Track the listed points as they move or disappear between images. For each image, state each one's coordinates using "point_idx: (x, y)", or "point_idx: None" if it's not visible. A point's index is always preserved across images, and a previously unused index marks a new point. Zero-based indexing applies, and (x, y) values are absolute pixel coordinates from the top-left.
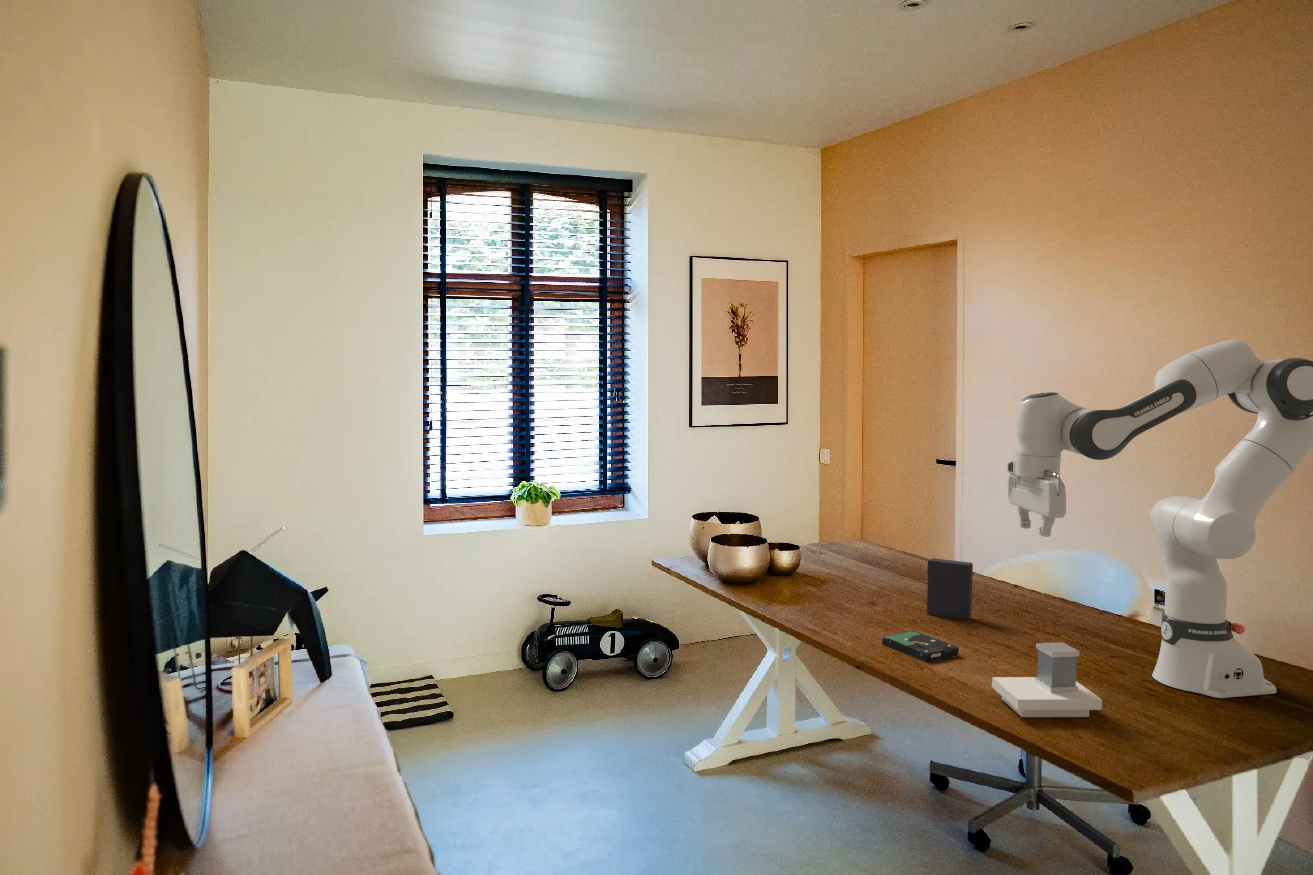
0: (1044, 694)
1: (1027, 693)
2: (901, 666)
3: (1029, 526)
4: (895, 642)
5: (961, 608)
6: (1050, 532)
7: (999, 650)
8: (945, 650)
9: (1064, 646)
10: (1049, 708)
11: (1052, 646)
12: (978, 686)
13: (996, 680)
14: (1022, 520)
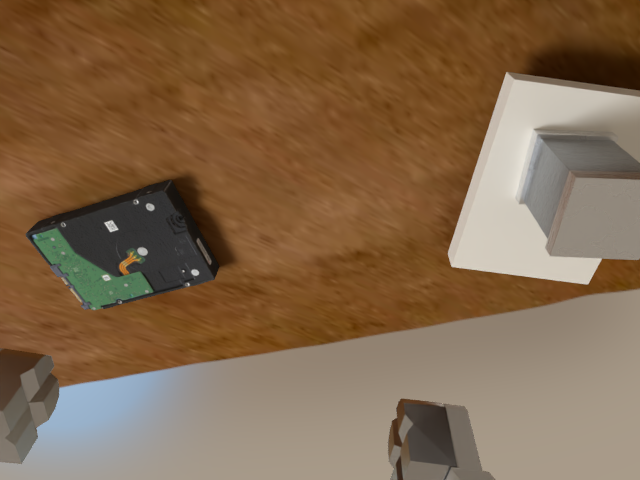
0: None
1: None
2: (245, 319)
3: (43, 370)
4: (127, 301)
5: None
6: (471, 433)
7: (112, 41)
8: (187, 229)
9: (612, 196)
10: None
11: (596, 230)
12: (382, 236)
13: (472, 268)
14: (8, 460)
